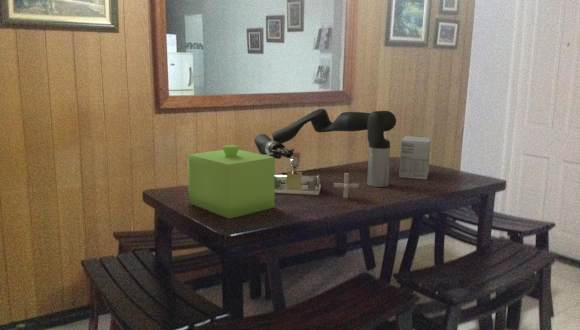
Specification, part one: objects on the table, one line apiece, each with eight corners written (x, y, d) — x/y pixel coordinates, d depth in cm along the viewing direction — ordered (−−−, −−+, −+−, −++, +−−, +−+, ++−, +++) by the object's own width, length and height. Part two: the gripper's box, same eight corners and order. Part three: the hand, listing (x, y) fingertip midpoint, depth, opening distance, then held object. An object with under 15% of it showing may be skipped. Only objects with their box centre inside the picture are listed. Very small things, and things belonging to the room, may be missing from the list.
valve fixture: (320, 187, 221) (321, 165, 219) (318, 194, 209) (319, 171, 207) (270, 185, 223) (271, 163, 221) (266, 192, 211) (266, 168, 209)
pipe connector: (357, 194, 210) (358, 171, 208) (358, 201, 200) (359, 176, 198) (333, 193, 211) (334, 170, 209) (333, 200, 201) (333, 175, 199)
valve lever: (298, 168, 212) (298, 158, 211) (289, 167, 212) (289, 158, 212) (301, 161, 226) (301, 152, 226) (293, 161, 227) (293, 152, 226)
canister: (189, 204, 193) (187, 144, 188) (233, 194, 208) (232, 139, 203) (229, 219, 176) (228, 153, 171) (274, 207, 190) (274, 147, 186)
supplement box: (427, 180, 239) (429, 142, 235) (398, 177, 243) (400, 140, 239) (428, 172, 255) (431, 137, 251) (402, 170, 259) (404, 135, 255)
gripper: (287, 156, 246) (302, 163, 231) (262, 158, 241) (275, 165, 226) (287, 141, 245) (302, 146, 229) (262, 142, 240) (275, 148, 224)
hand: (289, 155), depth 227 cm, fingers closed
